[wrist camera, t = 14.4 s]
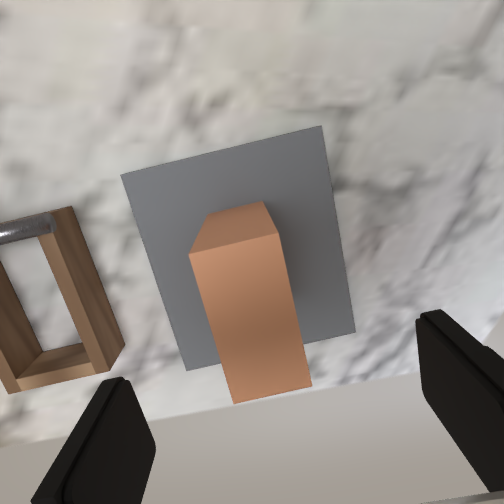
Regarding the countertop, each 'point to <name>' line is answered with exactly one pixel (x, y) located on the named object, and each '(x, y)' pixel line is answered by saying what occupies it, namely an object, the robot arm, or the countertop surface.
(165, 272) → the mat
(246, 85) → the countertop surface
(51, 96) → the countertop surface
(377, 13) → the countertop surface
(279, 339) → the orange block
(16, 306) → the dispenser
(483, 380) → the robot arm
